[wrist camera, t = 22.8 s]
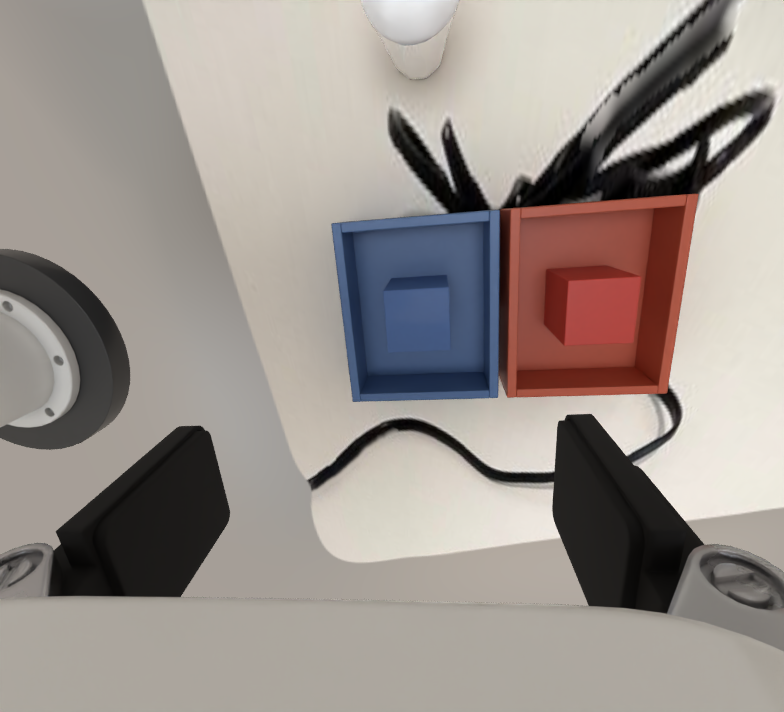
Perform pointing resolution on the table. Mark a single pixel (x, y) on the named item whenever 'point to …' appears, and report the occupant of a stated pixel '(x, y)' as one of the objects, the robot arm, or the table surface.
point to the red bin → (581, 249)
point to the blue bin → (413, 259)
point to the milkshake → (412, 32)
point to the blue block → (417, 314)
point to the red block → (591, 305)
